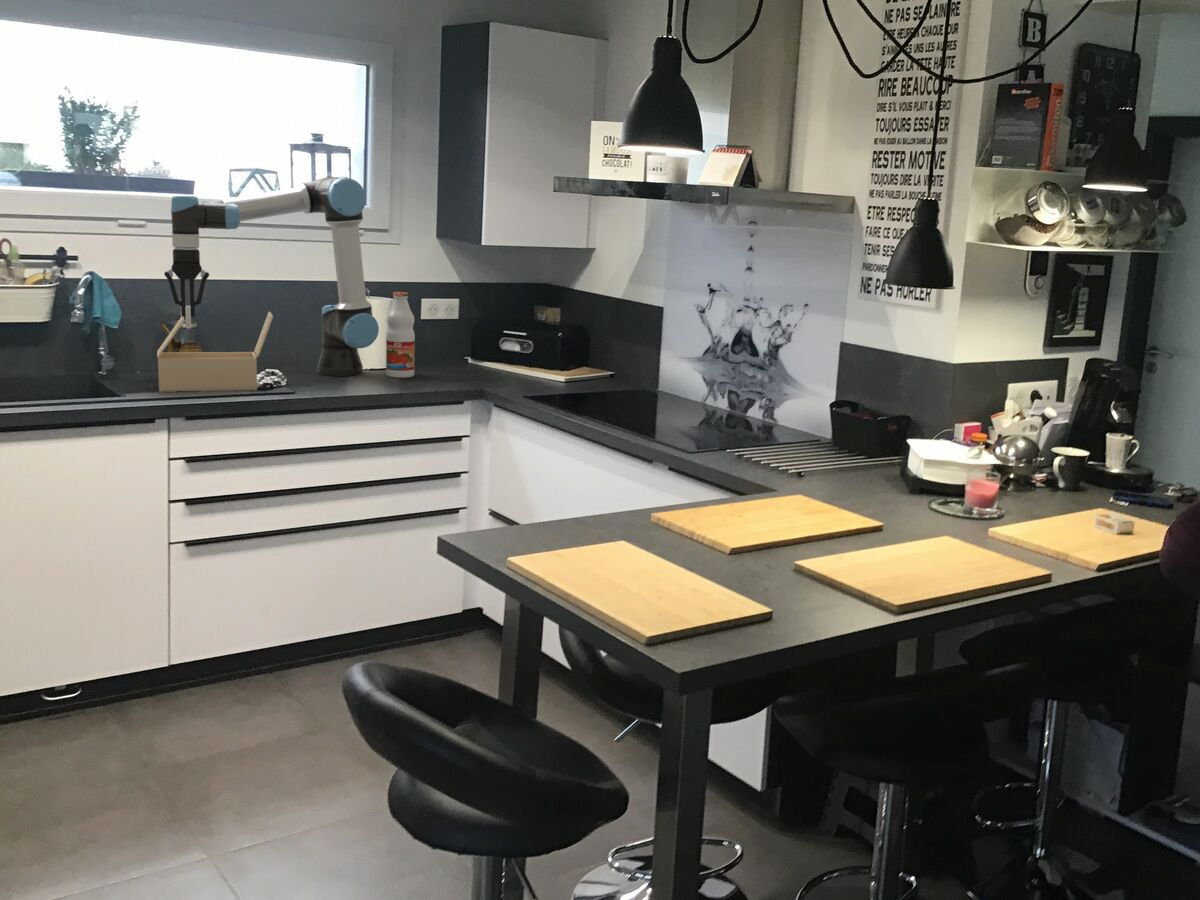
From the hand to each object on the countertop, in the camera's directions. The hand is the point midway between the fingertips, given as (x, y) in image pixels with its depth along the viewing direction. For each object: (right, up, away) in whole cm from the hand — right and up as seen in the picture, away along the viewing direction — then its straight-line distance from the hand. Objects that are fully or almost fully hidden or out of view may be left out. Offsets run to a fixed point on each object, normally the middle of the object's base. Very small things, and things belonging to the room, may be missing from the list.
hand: (188, 327), depth 355 cm
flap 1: (-5, -3, -1) cm, 6 cm away
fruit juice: (+57, -12, +43) cm, 72 cm away
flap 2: (+20, -1, +8) cm, 22 cm away
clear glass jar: (-9, -14, +21) cm, 27 cm away
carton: (+4, -18, +6) cm, 19 cm away
